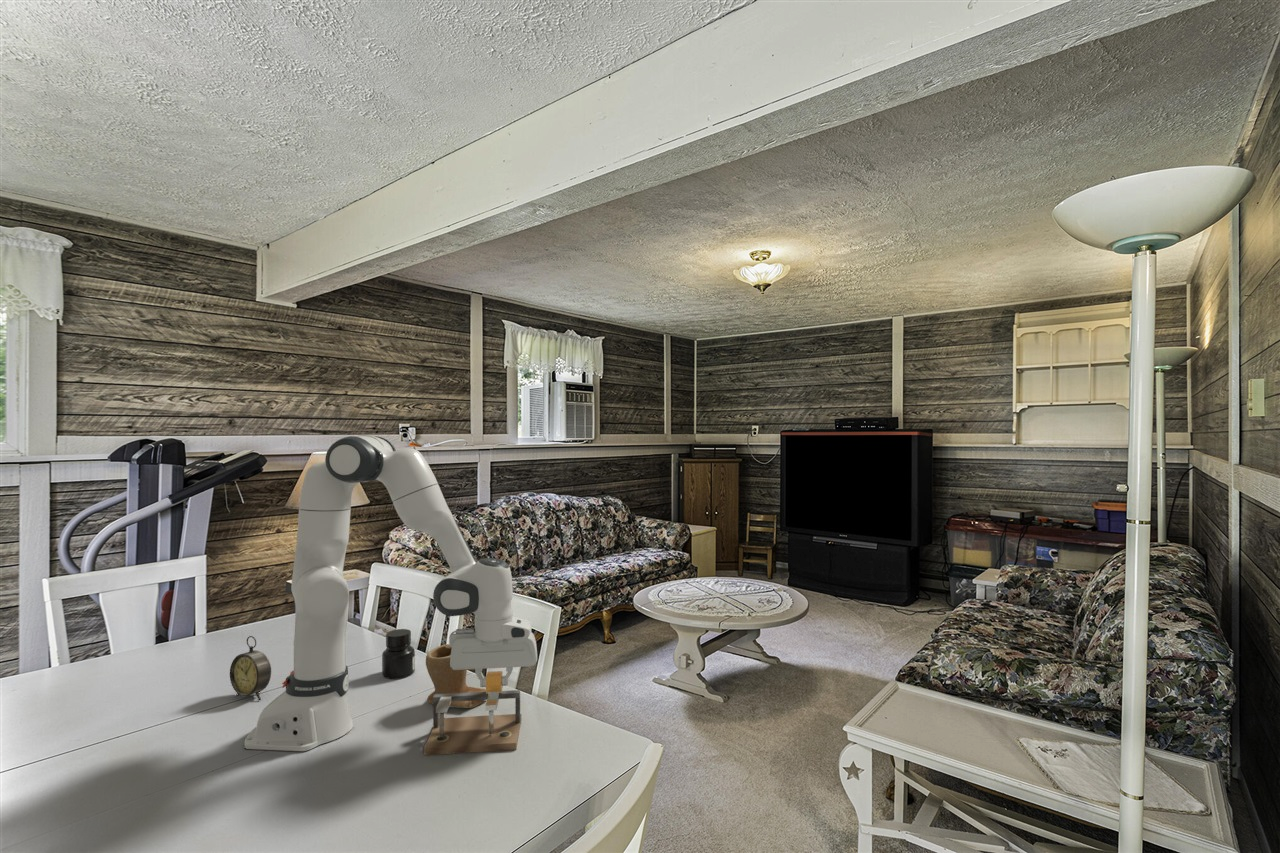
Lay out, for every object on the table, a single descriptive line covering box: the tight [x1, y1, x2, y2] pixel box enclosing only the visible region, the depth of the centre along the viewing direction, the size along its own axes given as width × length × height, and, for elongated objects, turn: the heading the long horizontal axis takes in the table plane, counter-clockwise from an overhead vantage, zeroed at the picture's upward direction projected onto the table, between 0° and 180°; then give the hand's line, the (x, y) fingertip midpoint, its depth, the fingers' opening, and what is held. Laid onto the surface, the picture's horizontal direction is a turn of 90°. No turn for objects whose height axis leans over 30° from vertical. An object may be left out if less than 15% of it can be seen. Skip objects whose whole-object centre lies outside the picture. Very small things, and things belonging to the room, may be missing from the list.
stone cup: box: [425, 643, 486, 709], centre depth 160 cm, size 15×12×15 cm
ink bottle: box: [381, 628, 416, 680], centre depth 180 cm, size 10×9×12 cm
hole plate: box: [423, 689, 522, 756], centre depth 143 cm, size 20×14×9 cm
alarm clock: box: [229, 635, 272, 701], centre depth 165 cm, size 11×5×16 cm, turn 68°
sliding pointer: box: [484, 670, 504, 734], centre depth 144 cm, size 4×8×11 cm, turn 6°
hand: (494, 685), depth 147 cm, fingers closed on sliding pointer, 3 cm apart
